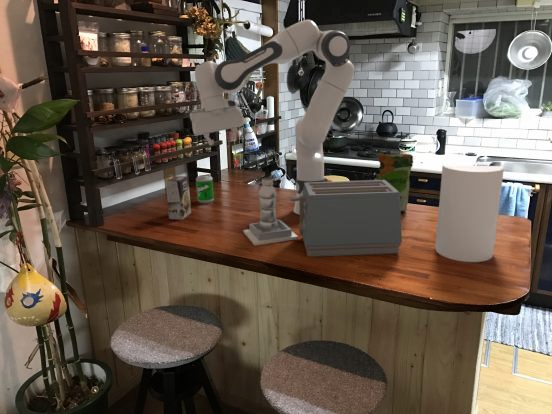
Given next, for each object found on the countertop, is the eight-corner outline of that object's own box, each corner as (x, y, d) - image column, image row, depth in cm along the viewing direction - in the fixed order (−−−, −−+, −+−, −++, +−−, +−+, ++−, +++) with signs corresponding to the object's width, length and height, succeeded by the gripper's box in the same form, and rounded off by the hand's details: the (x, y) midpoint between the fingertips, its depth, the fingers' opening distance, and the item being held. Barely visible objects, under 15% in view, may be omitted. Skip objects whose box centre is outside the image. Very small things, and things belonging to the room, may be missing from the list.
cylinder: (500, 263, 137) (511, 172, 129) (439, 260, 140) (447, 171, 132) (485, 242, 153) (494, 160, 145) (431, 240, 156) (438, 160, 148)
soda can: (205, 198, 215) (203, 173, 211) (217, 200, 210) (215, 175, 207) (194, 202, 209) (192, 176, 205) (206, 204, 205) (204, 178, 201)
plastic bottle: (272, 237, 161) (270, 182, 154) (256, 233, 164) (254, 180, 157) (281, 231, 166) (280, 178, 159) (265, 227, 169) (264, 175, 162)
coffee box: (183, 219, 185) (180, 181, 180) (168, 219, 186) (164, 180, 182) (191, 213, 193) (188, 175, 189) (177, 212, 195) (174, 175, 190)
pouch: (412, 213, 185) (416, 152, 178) (389, 218, 180) (392, 155, 173) (394, 206, 195) (397, 148, 187) (371, 211, 190) (374, 151, 182)
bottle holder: (284, 226, 174) (284, 218, 173) (298, 239, 161) (297, 229, 160) (243, 232, 169) (243, 223, 168) (254, 245, 156) (254, 236, 155)
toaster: (289, 237, 163) (288, 182, 157) (385, 234, 164) (388, 178, 158) (293, 259, 145) (292, 197, 139) (401, 254, 146) (405, 193, 140)
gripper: (191, 109, 163) (200, 147, 165) (241, 100, 173) (249, 136, 175) (185, 112, 169) (194, 149, 171) (234, 104, 179) (242, 138, 180)
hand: (223, 142), depth 173 cm, fingers open, 8 cm apart
